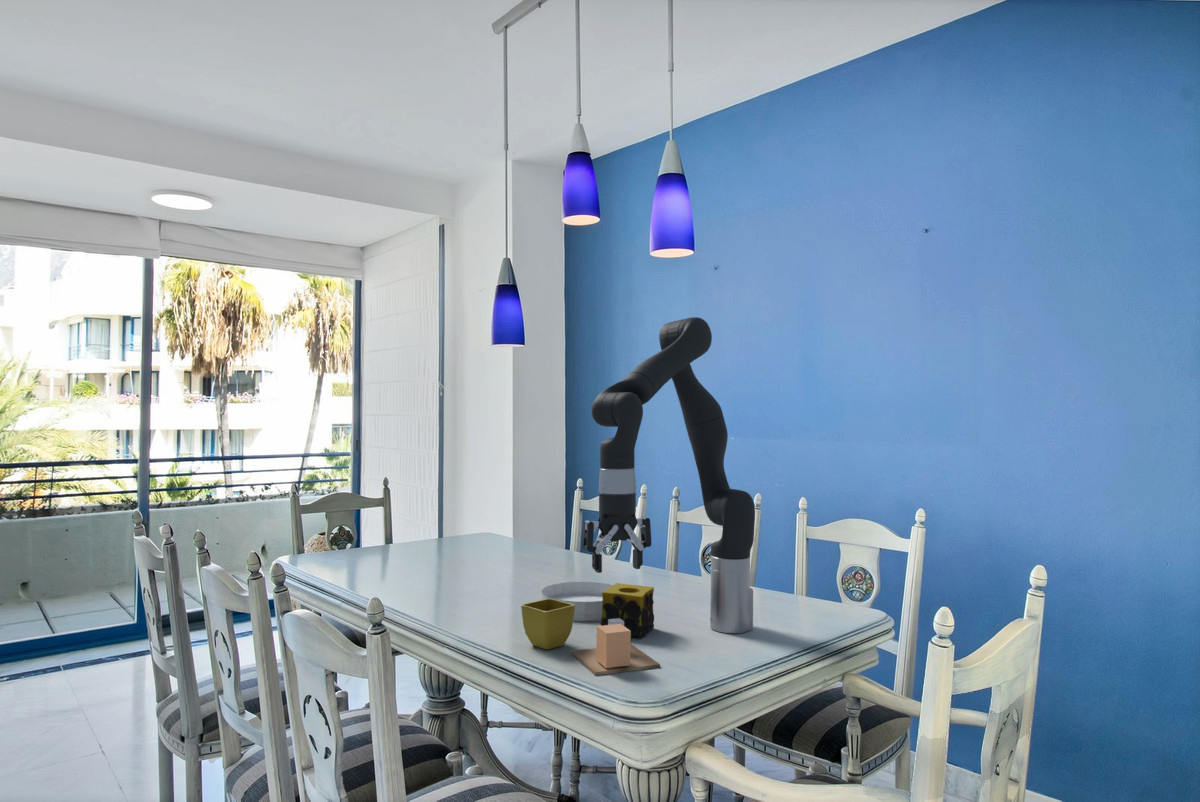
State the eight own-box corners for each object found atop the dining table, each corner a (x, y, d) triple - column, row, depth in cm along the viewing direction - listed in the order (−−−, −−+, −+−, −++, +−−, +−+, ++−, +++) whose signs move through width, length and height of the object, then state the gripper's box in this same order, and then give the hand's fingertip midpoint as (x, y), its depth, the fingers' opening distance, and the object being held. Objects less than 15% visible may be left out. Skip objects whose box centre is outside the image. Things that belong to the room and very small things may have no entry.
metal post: (619, 648, 160) (619, 618, 160) (623, 651, 157) (624, 621, 158) (607, 649, 159) (608, 619, 159) (612, 653, 156) (612, 622, 157)
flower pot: (519, 645, 163) (519, 604, 163) (549, 637, 169) (550, 597, 169) (545, 654, 157) (545, 611, 157) (575, 646, 163) (576, 604, 163)
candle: (615, 623, 181) (615, 582, 181) (654, 628, 177) (655, 586, 178) (599, 635, 172) (600, 591, 172) (641, 640, 168) (641, 595, 168)
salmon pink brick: (620, 657, 153) (620, 623, 153) (630, 665, 148) (630, 630, 148) (596, 659, 151) (596, 626, 151) (606, 668, 146) (606, 633, 146)
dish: (617, 625, 181) (617, 604, 181) (529, 619, 185) (530, 598, 185) (631, 602, 202) (631, 584, 203) (552, 597, 207) (553, 579, 207)
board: (631, 646, 163) (631, 644, 163) (660, 667, 150) (660, 664, 150) (571, 653, 158) (571, 650, 158) (595, 675, 145) (595, 672, 145)
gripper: (640, 487, 158) (641, 564, 157) (578, 490, 152) (578, 569, 152) (657, 490, 151) (657, 571, 151) (591, 493, 145) (591, 577, 145)
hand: (617, 570), depth 151 cm, fingers open, 8 cm apart
